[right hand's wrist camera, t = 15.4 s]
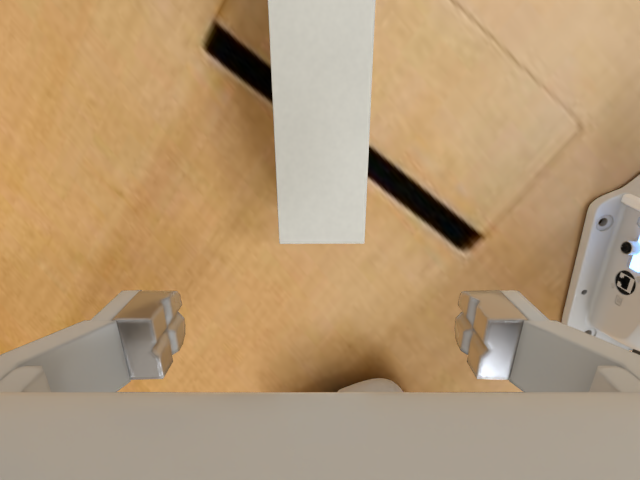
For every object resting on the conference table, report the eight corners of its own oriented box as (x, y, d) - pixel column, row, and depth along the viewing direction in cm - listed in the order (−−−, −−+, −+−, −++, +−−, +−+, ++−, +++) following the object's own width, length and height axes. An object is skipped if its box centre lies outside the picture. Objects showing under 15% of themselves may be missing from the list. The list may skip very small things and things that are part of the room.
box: (352, 206, 35) (364, 243, 26) (290, 206, 35) (279, 243, 26) (362, -119, 26) (386, -242, 17) (278, -119, 26) (256, -241, 17)
